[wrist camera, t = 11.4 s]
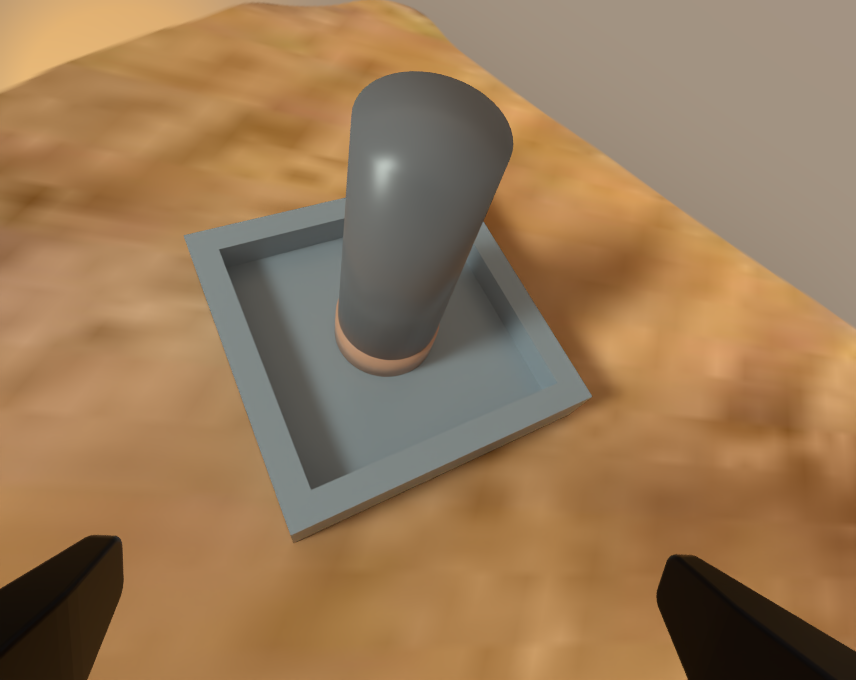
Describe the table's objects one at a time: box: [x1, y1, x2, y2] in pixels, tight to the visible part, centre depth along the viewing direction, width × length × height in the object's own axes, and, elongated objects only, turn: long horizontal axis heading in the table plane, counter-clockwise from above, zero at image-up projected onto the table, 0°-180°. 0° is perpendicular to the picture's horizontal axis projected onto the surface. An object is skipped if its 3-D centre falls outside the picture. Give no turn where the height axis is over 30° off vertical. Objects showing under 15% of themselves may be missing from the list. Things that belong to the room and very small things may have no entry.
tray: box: [184, 198, 592, 543], centre depth 24 cm, size 14×14×2 cm
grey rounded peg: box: [335, 71, 513, 377], centre depth 19 cm, size 5×5×12 cm
